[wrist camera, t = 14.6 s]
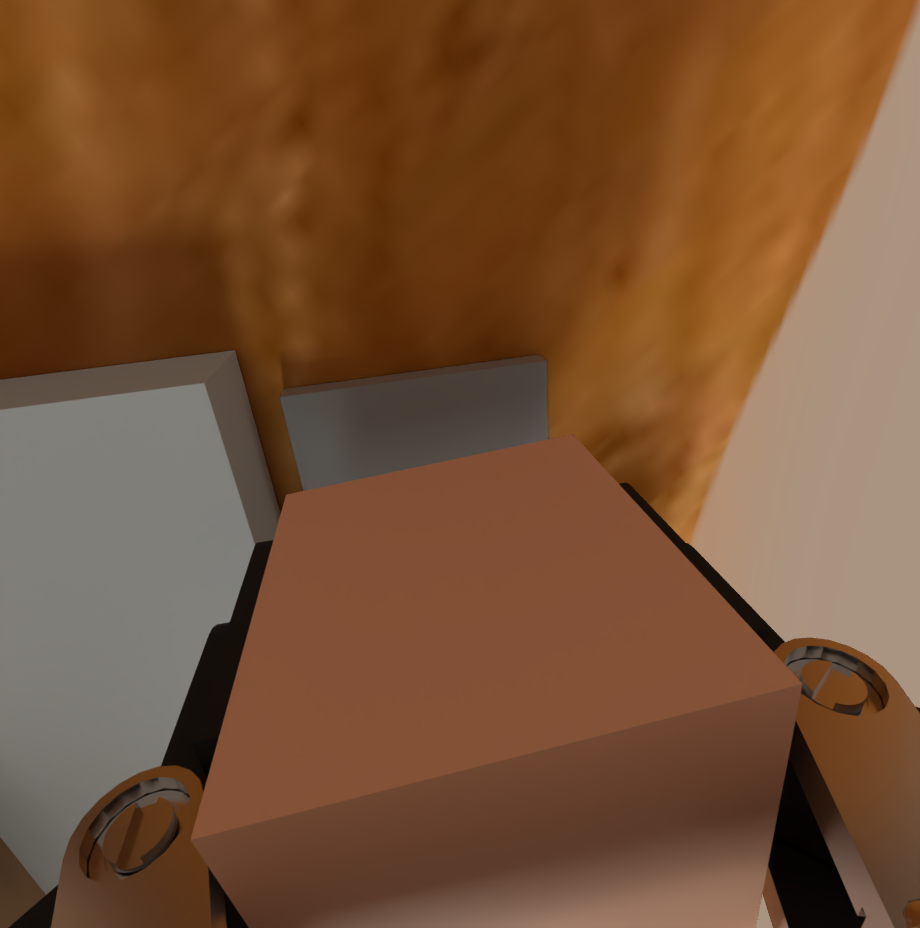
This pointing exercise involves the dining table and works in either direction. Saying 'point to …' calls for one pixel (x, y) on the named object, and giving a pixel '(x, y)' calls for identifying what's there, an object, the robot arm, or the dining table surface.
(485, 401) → the coaster
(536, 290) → the dining table surface
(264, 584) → the block
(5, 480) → the deck
